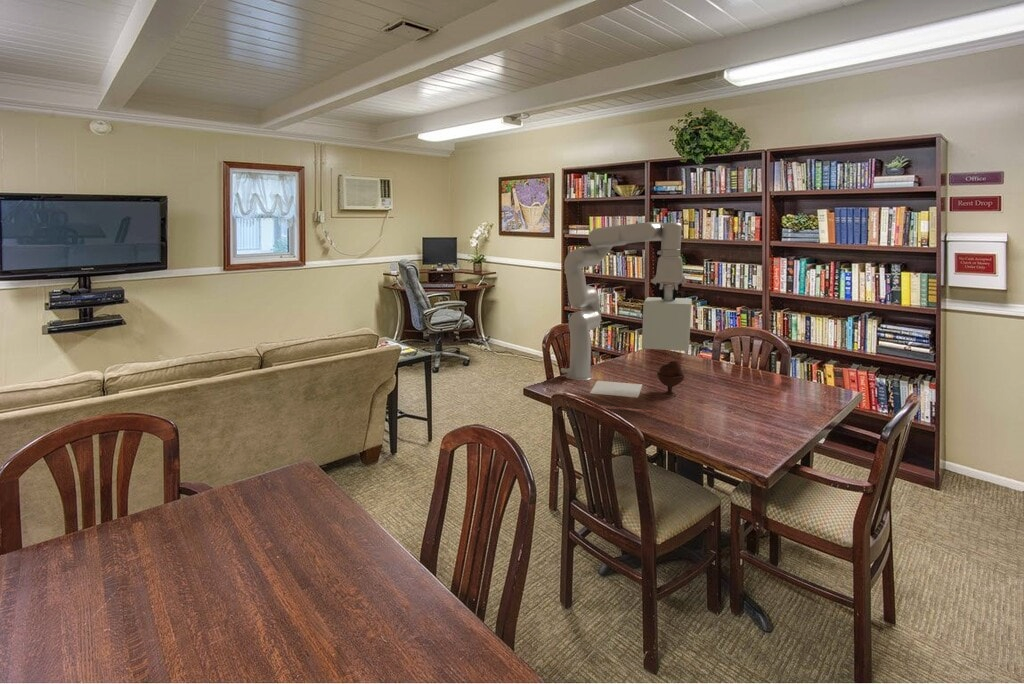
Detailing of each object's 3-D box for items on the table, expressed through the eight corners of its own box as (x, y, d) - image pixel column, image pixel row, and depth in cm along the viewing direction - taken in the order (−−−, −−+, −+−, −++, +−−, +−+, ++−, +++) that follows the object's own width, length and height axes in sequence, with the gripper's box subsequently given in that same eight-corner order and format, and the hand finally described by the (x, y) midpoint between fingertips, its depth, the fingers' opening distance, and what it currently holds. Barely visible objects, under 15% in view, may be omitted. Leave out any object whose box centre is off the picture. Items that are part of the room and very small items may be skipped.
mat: (589, 395, 239) (589, 393, 239) (597, 382, 258) (597, 380, 258) (638, 399, 233) (638, 397, 233) (642, 386, 252) (642, 384, 252)
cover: (641, 348, 230) (644, 287, 225) (645, 339, 246) (648, 283, 241) (688, 351, 224) (691, 288, 219) (689, 342, 241) (692, 284, 236)
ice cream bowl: (679, 392, 244) (682, 357, 241) (684, 399, 233) (687, 364, 230) (654, 391, 245) (656, 357, 242) (658, 399, 234) (660, 363, 231)
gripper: (648, 254, 227) (646, 299, 231) (692, 254, 222) (689, 301, 225) (649, 253, 234) (648, 297, 238) (692, 253, 229) (690, 298, 232)
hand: (668, 298), depth 231 cm, fingers closed on cover, 4 cm apart
